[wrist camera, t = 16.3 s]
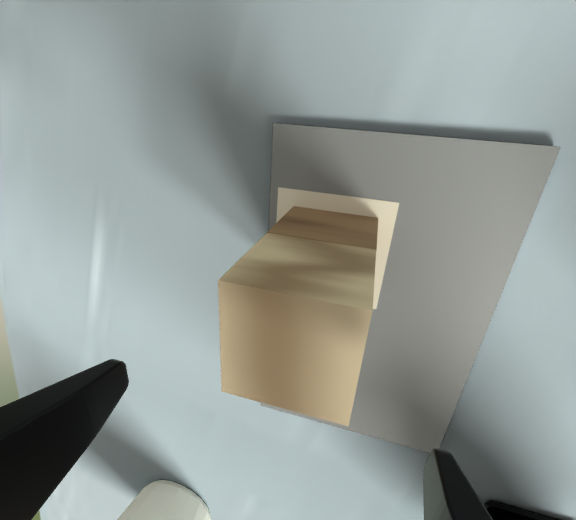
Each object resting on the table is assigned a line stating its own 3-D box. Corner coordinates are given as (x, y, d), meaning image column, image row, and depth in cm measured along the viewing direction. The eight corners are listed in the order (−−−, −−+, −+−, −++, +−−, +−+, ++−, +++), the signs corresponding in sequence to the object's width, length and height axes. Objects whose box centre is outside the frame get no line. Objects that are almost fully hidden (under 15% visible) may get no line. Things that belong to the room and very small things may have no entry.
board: (554, 146, 15) (561, 147, 15) (435, 447, 25) (436, 455, 24) (276, 123, 18) (273, 123, 18) (263, 400, 28) (260, 405, 27)
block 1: (363, 293, 20) (358, 341, 16) (288, 278, 21) (263, 320, 17) (378, 217, 18) (376, 249, 14) (293, 206, 19) (267, 231, 15)
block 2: (376, 249, 14) (372, 310, 10) (358, 341, 16) (348, 426, 12) (267, 232, 15) (218, 280, 11) (263, 320, 17) (221, 391, 13)
